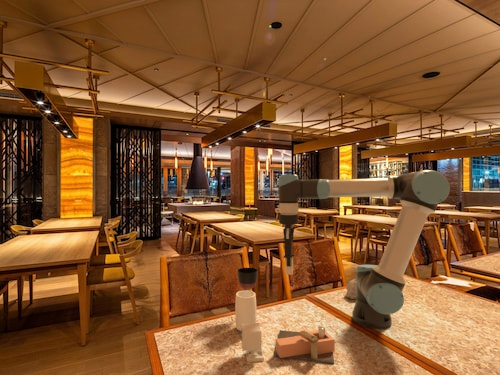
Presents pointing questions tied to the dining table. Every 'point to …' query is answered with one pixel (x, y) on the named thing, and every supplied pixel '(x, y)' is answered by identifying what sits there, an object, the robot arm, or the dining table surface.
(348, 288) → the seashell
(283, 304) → the dining table surface
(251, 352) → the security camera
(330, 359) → the base
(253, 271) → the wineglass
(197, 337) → the dining table surface
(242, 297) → the cup
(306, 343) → the link
